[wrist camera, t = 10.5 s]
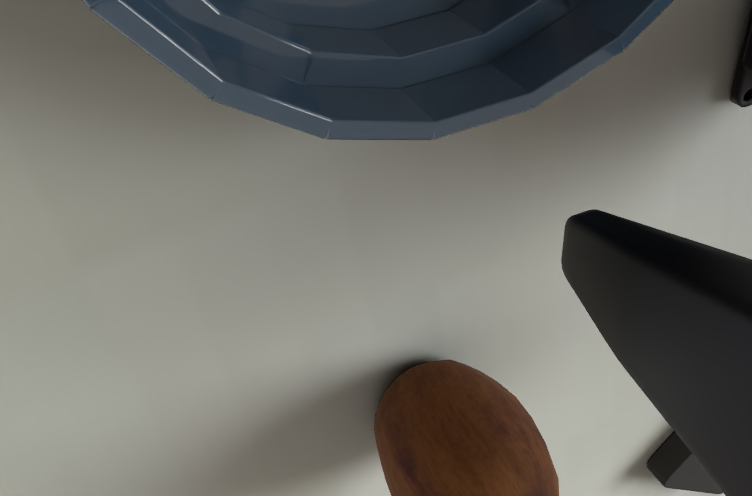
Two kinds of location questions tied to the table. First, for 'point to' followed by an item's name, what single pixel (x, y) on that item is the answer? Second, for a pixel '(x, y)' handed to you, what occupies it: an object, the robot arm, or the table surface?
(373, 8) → the bowl
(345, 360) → the table surface
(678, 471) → the smart home device
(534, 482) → the wooden figurine
